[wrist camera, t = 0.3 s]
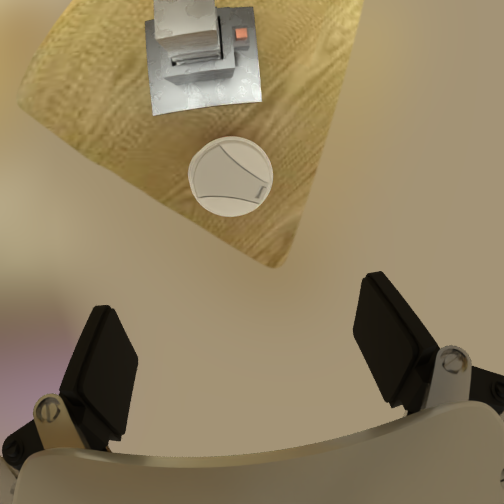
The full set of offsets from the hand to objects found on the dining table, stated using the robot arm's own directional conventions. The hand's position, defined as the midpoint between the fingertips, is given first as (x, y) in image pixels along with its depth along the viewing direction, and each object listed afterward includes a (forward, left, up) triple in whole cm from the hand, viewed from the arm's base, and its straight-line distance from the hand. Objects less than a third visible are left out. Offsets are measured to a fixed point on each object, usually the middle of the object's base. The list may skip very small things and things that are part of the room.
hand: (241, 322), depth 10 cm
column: (-15, -2, -29) cm, 33 cm away
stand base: (-15, -2, -31) cm, 34 cm away
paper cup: (-1, 0, -31) cm, 31 cm away
